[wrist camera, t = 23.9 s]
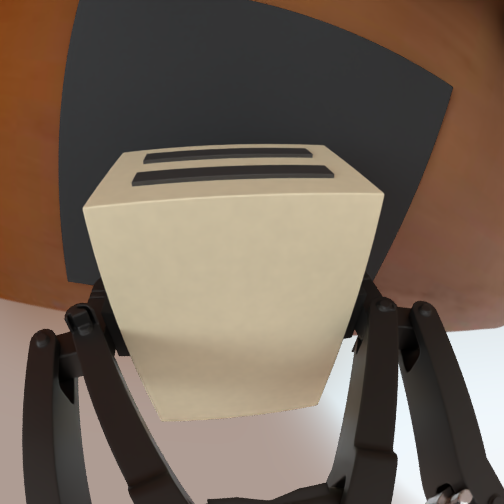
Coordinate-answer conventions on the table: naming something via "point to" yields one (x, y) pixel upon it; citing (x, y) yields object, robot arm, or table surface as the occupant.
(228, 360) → the toaster
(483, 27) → the table surface
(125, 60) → the mat
